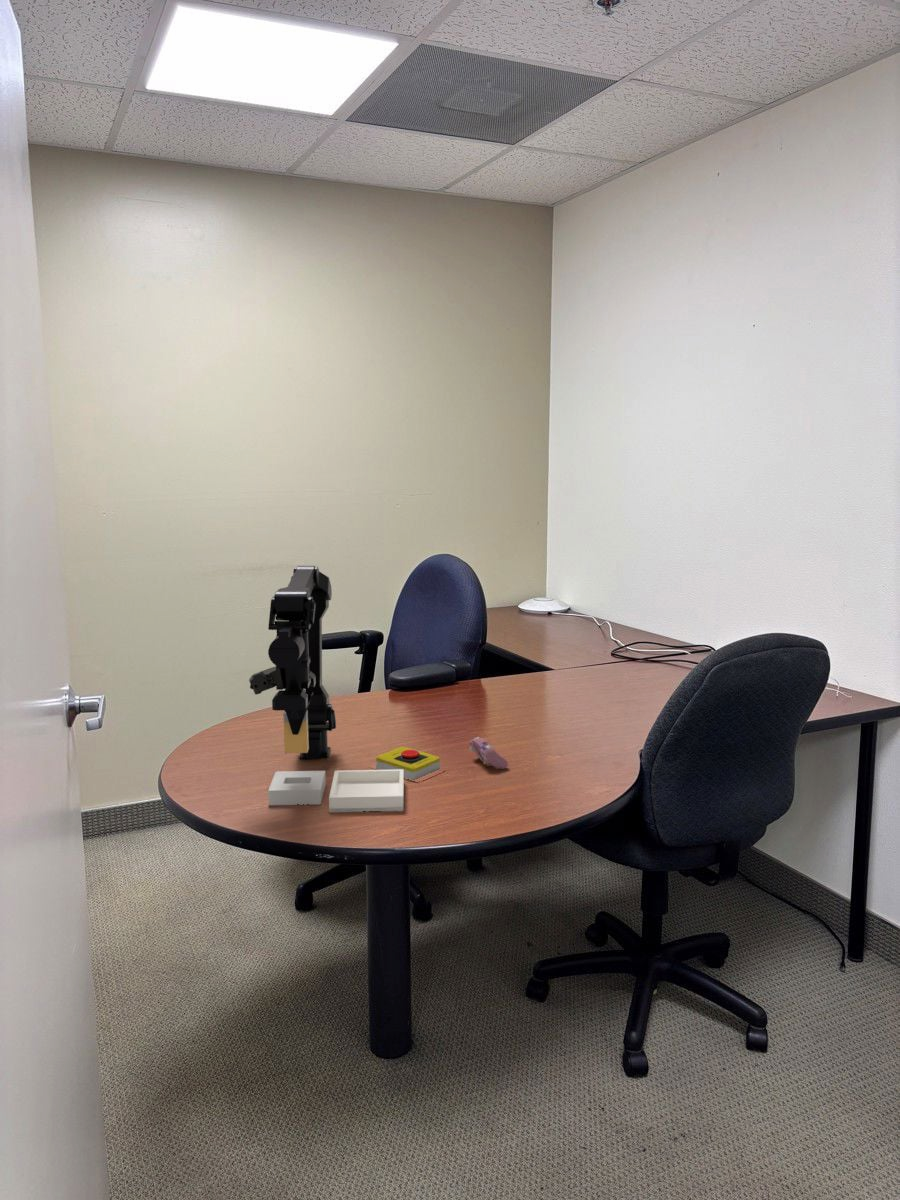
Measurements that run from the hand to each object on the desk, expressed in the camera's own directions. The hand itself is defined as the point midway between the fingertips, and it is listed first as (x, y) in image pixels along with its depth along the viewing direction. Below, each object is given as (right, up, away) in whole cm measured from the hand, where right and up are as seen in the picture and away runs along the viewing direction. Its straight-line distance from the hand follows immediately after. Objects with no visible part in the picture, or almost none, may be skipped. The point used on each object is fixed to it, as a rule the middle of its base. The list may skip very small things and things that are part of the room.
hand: (296, 732), depth 173 cm
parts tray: (+14, -13, +1) cm, 19 cm away
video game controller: (+38, -10, +19) cm, 44 cm away
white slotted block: (0, -13, +2) cm, 13 cm away
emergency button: (+21, -11, +16) cm, 29 cm away
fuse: (0, -4, +1) cm, 4 cm away
